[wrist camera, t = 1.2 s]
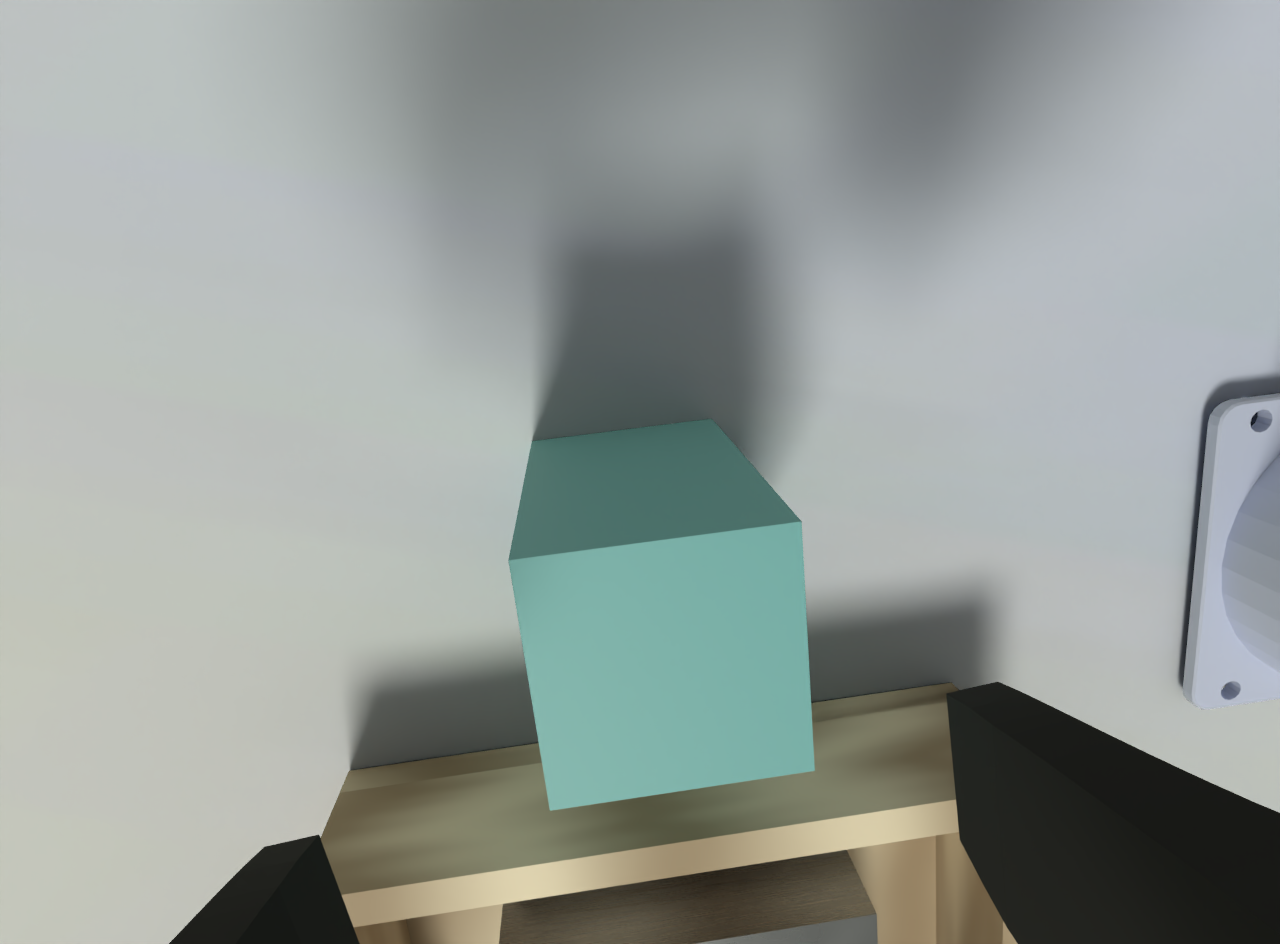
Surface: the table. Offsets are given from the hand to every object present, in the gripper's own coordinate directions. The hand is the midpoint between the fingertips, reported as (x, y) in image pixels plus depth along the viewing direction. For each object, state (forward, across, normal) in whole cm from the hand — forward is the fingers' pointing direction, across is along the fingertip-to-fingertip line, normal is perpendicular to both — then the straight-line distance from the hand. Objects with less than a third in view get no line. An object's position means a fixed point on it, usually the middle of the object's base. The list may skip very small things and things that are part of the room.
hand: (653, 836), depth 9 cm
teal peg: (+10, -1, 0) cm, 10 cm away
